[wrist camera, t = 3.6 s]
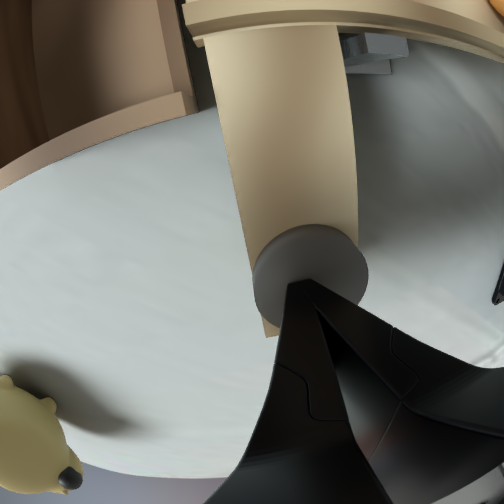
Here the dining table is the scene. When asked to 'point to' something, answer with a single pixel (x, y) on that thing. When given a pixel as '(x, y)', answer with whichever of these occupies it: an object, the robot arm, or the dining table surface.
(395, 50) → the fulcrum
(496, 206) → the dining table surface
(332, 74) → the lever
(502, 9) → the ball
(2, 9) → the tray
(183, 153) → the dining table surface
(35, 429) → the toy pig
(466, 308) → the dining table surface
